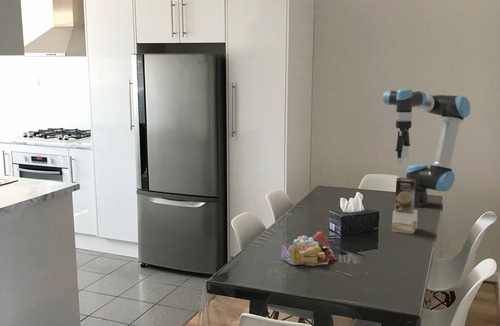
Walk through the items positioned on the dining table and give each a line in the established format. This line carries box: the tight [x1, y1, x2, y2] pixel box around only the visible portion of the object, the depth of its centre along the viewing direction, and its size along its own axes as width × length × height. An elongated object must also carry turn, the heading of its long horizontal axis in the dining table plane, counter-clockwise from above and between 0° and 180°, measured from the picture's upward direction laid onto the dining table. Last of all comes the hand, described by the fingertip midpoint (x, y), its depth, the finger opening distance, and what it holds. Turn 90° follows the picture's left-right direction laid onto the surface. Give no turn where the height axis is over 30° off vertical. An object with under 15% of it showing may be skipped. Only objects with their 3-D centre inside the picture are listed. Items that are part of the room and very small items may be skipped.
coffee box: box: [394, 177, 416, 213], centre depth 259 cm, size 9×6×16 cm
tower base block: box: [391, 219, 418, 235], centre depth 262 cm, size 10×10×5 cm
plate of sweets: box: [280, 231, 337, 267], centre depth 229 cm, size 25×24×9 cm
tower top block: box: [391, 209, 418, 225], centre depth 261 cm, size 9×9×5 cm
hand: (402, 161), depth 271 cm, fingers open, 13 cm apart
